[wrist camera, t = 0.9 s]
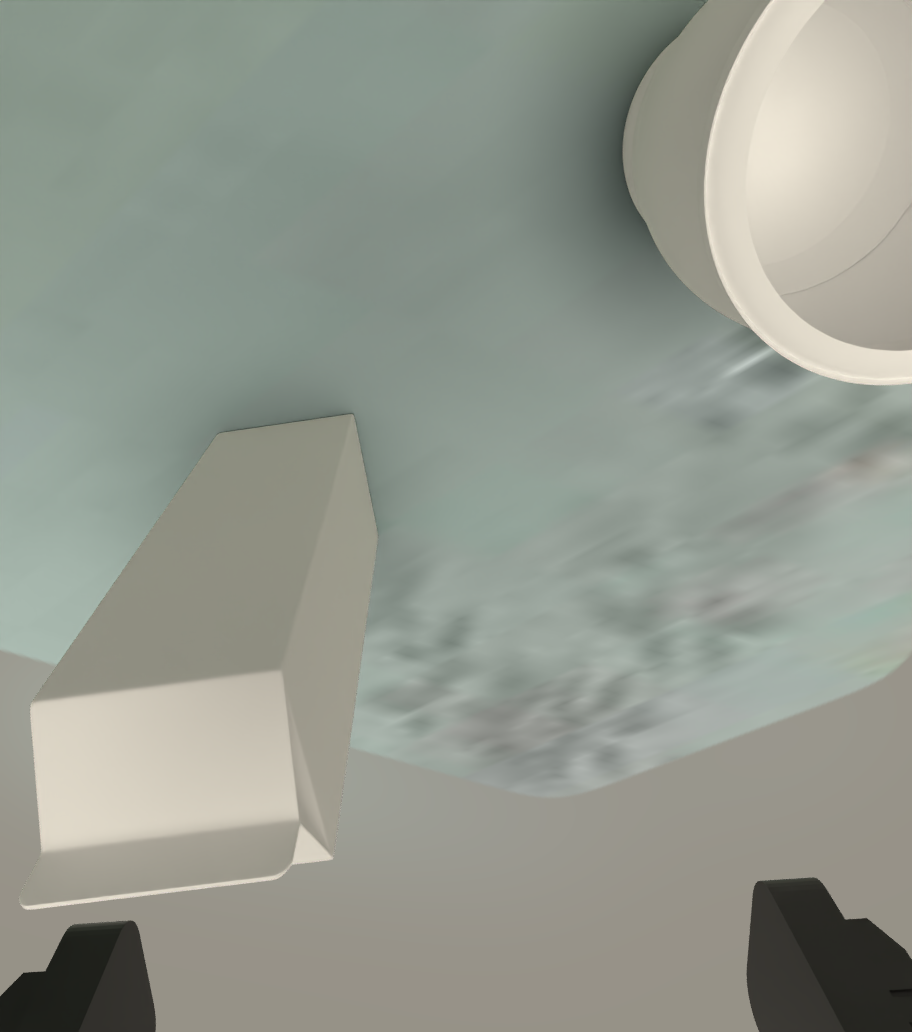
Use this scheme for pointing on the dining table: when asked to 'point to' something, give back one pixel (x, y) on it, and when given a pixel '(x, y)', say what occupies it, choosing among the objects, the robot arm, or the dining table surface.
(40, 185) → the dining table surface
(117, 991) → the robot arm
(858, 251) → the jar
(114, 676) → the milk
